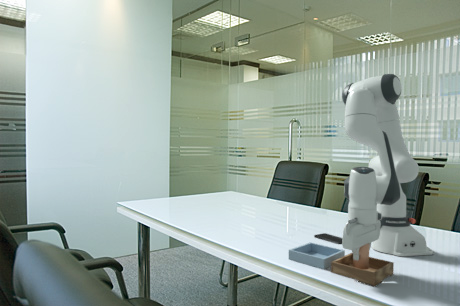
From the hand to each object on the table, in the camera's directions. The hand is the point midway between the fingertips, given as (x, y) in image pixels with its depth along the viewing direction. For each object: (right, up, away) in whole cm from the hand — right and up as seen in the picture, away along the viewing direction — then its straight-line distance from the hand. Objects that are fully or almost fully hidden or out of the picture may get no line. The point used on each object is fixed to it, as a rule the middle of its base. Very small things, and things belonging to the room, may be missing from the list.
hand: (361, 257), depth 116 cm
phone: (+3, -5, +43) cm, 43 cm away
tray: (0, -6, 0) cm, 6 cm away
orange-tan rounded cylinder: (0, -3, 0) cm, 3 cm away
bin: (-12, -5, +13) cm, 18 cm away
